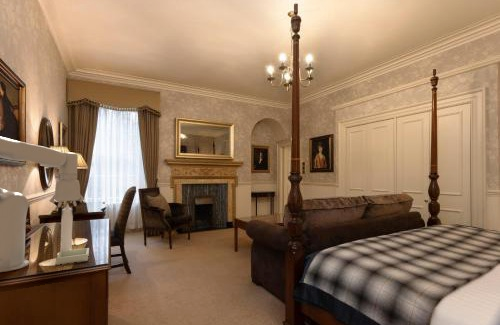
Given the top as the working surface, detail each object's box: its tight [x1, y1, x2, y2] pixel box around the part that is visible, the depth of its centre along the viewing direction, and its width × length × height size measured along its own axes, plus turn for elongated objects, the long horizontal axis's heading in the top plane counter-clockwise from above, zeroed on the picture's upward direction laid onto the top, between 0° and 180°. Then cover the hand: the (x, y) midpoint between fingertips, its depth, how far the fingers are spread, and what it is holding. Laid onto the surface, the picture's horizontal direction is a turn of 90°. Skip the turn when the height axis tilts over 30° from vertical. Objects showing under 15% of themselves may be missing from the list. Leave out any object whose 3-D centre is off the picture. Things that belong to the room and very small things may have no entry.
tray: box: [55, 247, 90, 266], centre depth 123 cm, size 12×12×3 cm
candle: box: [56, 202, 74, 257], centre depth 131 cm, size 7×7×25 cm
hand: (67, 214), depth 131 cm, fingers closed on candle, 4 cm apart
